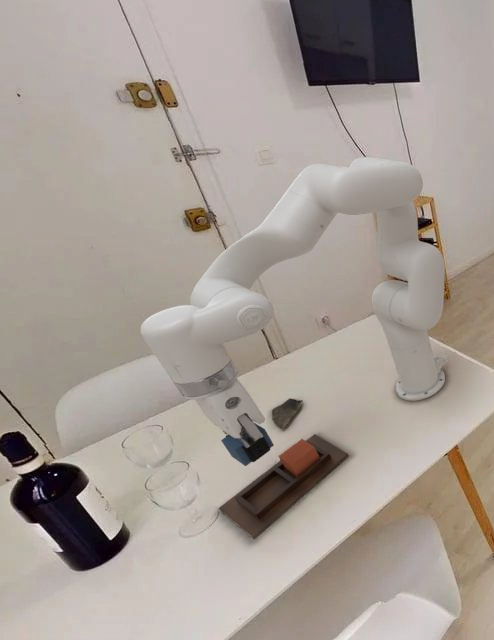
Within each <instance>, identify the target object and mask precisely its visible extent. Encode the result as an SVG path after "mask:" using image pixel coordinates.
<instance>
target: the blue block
mask: <svg viewBox="0 0 494 640" xmlns="http://www.w3.org/2000/svg"><path fill="white" fill-rule="evenodd" d="M254 424H255V425H256V426H257V428H258V429H259V431H260V432H261V433H262V435H263V437H264V438H265V440H266V442H267V443H268V445H269V447H270V449H271V448H273V447H274V446H275V444H274V442H273V440H272V439H271V437H270V436H269V434H268V432H267V430H266V429H265V428H264V427H262V426H261V425H260V424H258V423H256V422H254ZM242 429H243V428H241V430H242ZM227 435H228V434H227ZM227 435H226V436H227ZM226 436H225V437H223V438H222V439H221V440H220V441H221V443H222V444H223V445H224V447H225V449H226V450H227V452H228V453H229V454H230V456H231V458H233V459H234V460H235V461H237V462H239V463H240V464H242V465H243V466H244V467H247V466H248V465H250V464H252V462H251V461H250V459H249V458H248V456H247V455H246V453H245V451H244V450H243V448H242V447H243V446H244V445H243V444H242V443H241V441H240V440H239V439H238V438H234V437H232V436H230V435H228V436H227V437H226ZM243 436H244V438H245V439H247V438H248V437H249V434H248V433H246V434H245V435H243Z"/></svg>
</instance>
